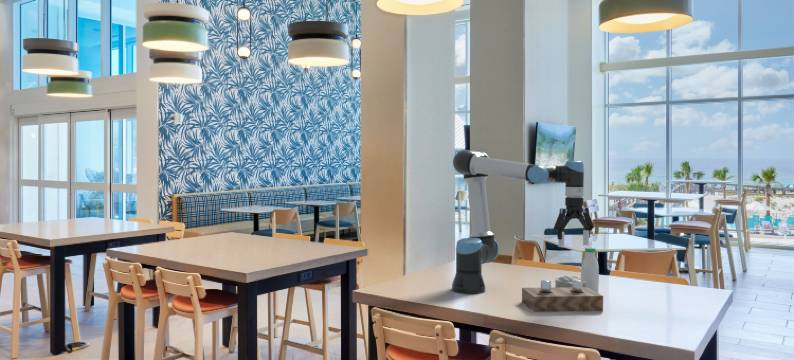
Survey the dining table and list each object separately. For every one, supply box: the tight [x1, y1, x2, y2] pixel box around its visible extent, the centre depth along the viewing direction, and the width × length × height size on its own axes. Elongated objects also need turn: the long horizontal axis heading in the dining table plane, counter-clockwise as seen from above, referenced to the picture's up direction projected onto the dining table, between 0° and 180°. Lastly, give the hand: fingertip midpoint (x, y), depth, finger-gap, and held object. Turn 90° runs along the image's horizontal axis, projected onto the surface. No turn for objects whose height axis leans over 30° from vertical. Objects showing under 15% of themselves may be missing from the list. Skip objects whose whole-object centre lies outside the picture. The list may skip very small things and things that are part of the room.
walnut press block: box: [521, 287, 604, 313], centre depth 234 cm, size 28×16×6 cm, turn 94°
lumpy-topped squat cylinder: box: [554, 275, 586, 288], centre depth 251 cm, size 10×13×9 cm
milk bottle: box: [580, 247, 600, 293], centre depth 261 cm, size 8×8×20 cm
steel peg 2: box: [572, 280, 582, 293], centre depth 234 cm, size 4×4×6 cm
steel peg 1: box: [540, 279, 552, 293], centre depth 233 cm, size 4×4×6 cm
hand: (573, 246), depth 246 cm, fingers open, 13 cm apart
